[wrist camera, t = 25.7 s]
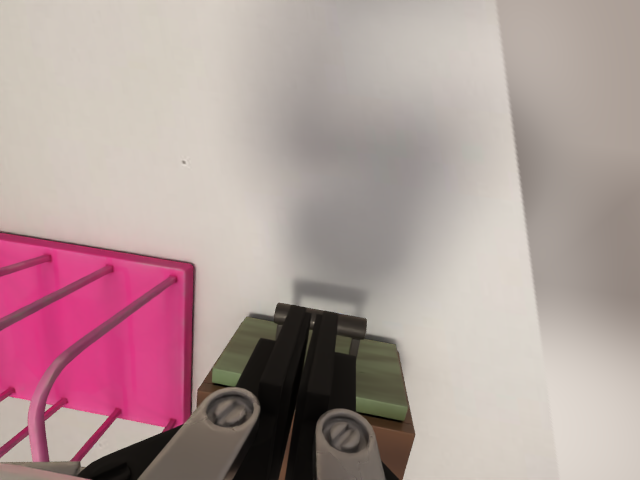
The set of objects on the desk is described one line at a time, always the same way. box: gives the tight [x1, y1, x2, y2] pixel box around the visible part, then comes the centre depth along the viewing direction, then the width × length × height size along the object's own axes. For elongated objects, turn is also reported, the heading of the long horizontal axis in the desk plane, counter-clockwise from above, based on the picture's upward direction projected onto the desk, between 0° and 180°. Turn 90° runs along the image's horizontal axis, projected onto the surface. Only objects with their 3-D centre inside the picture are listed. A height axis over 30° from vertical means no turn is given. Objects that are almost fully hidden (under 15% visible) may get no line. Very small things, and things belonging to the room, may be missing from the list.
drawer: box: [212, 303, 408, 421], centre depth 27 cm, size 19×13×7 cm
